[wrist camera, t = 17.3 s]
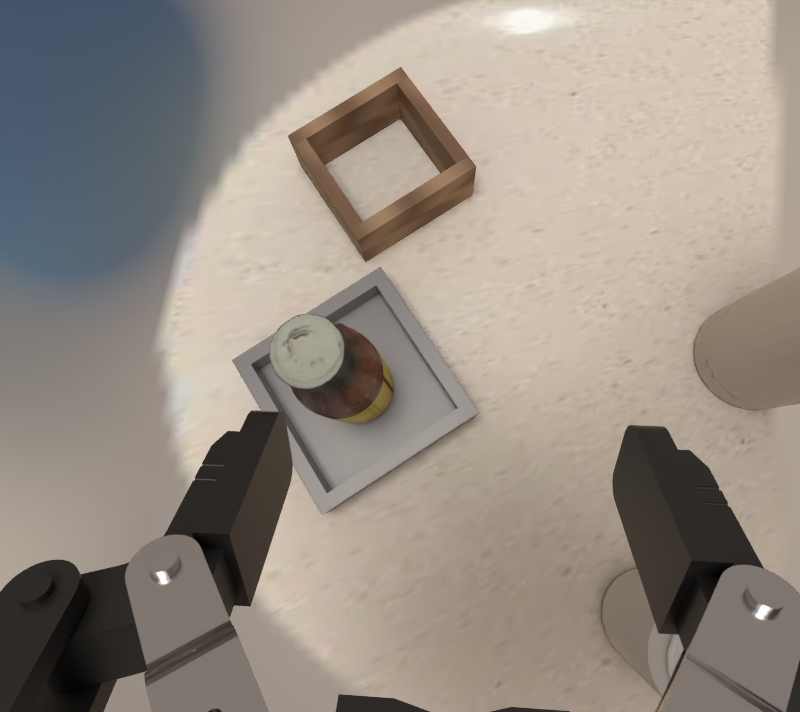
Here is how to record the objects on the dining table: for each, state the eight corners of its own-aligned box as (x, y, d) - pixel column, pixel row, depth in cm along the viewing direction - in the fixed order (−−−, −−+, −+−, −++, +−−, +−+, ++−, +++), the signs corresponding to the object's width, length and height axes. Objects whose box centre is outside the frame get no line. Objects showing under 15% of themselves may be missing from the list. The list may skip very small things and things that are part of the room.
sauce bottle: (331, 350, 48) (260, 273, 29) (400, 360, 48) (376, 287, 28) (318, 423, 47) (235, 394, 28) (389, 434, 47) (354, 412, 27)
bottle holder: (404, 103, 54) (400, 67, 49) (472, 194, 51) (476, 166, 47) (301, 166, 53) (287, 135, 48) (365, 261, 51) (358, 240, 46)
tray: (384, 280, 50) (380, 266, 47) (475, 416, 47) (478, 412, 44) (245, 367, 50) (231, 360, 46) (329, 511, 47) (321, 514, 43)
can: (624, 680, 43) (695, 762, 31) (582, 585, 44) (636, 628, 32) (712, 644, 43) (816, 712, 31) (667, 550, 44) (751, 581, 33)
